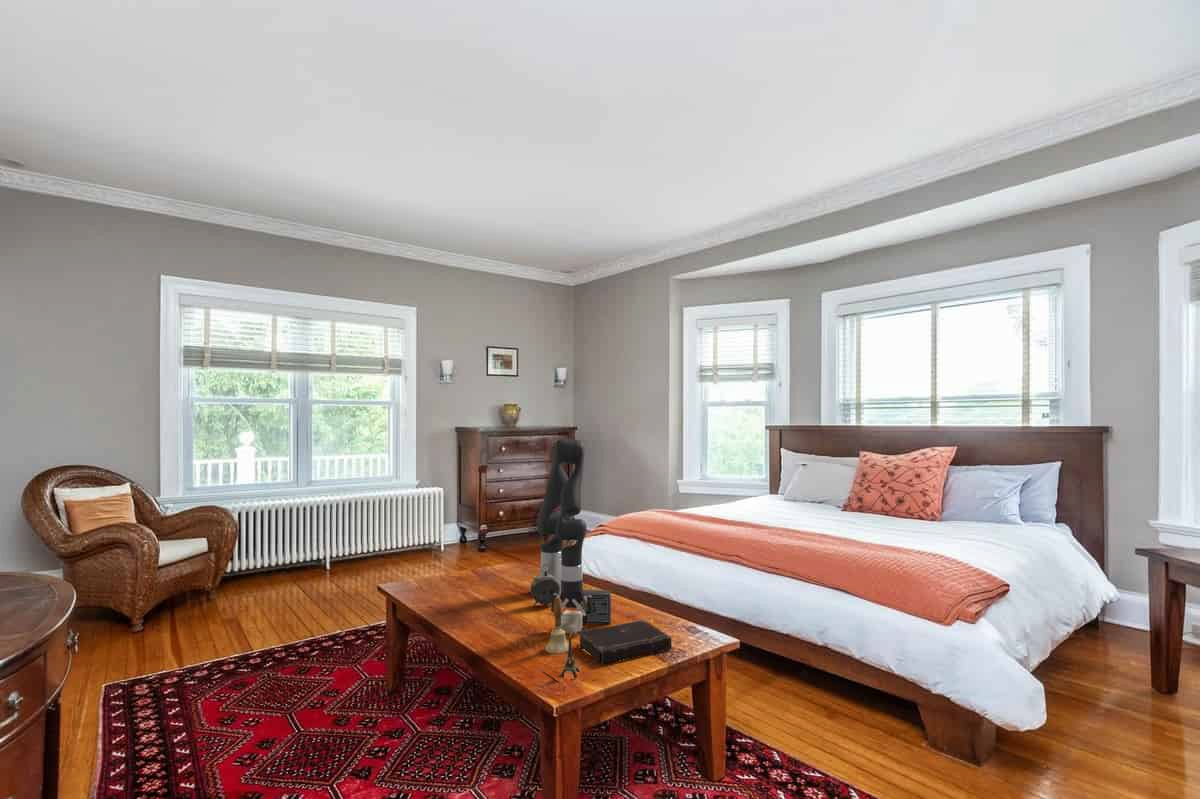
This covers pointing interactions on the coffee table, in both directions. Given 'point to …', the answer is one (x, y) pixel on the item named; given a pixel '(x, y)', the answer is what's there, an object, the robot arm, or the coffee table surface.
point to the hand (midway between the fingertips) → (572, 625)
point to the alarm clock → (544, 588)
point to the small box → (599, 606)
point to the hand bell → (557, 633)
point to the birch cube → (571, 621)
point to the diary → (623, 641)
